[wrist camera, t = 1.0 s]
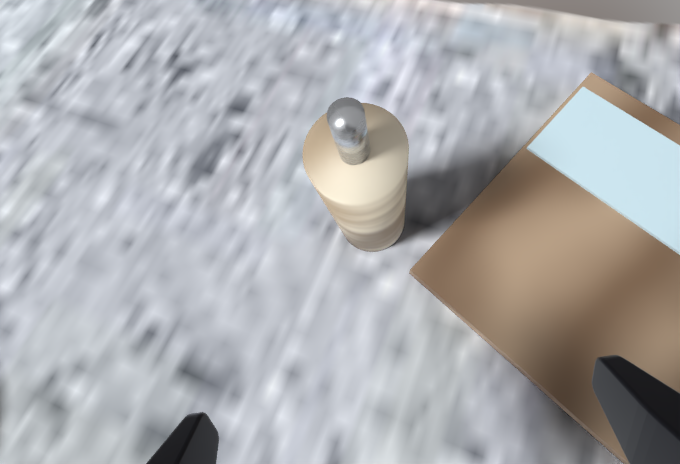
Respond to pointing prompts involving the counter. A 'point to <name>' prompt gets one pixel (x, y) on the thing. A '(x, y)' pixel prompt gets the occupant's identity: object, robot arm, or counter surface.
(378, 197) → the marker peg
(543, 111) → the counter surface
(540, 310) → the subfloor panel
